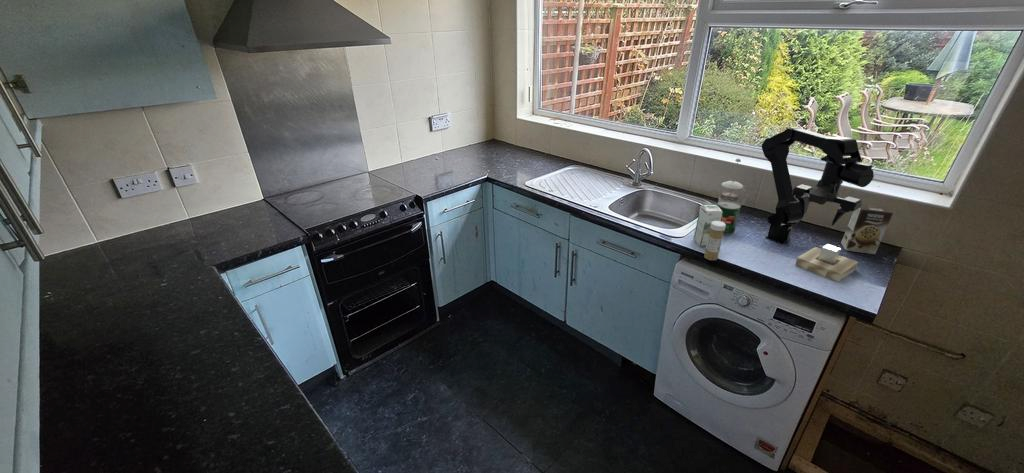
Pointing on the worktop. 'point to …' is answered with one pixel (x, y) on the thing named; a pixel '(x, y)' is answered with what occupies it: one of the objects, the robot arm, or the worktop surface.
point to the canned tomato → (729, 215)
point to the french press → (731, 185)
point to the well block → (826, 265)
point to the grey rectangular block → (829, 254)
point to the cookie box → (866, 229)
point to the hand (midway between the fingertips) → (817, 220)
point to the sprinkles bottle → (714, 240)
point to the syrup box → (706, 222)
